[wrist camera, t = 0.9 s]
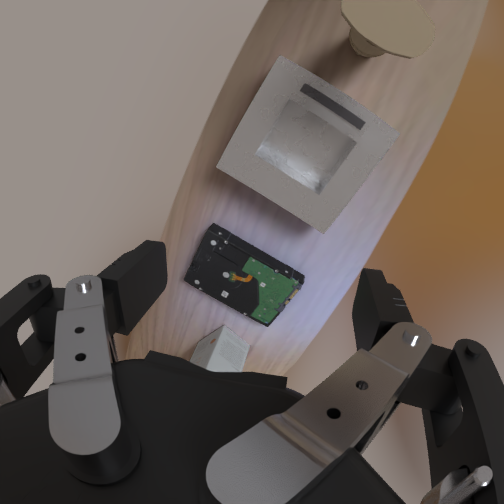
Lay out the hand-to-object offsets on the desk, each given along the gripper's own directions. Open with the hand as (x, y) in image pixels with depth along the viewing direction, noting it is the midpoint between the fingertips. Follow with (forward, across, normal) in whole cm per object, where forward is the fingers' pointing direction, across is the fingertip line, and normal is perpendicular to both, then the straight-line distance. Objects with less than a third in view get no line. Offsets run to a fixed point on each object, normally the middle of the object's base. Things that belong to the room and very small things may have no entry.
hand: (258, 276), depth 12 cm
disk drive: (+29, +6, +16) cm, 34 cm away
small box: (+31, +9, +31) cm, 45 cm away
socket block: (+26, -1, -4) cm, 26 cm away
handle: (+24, -7, -16) cm, 30 cm away
